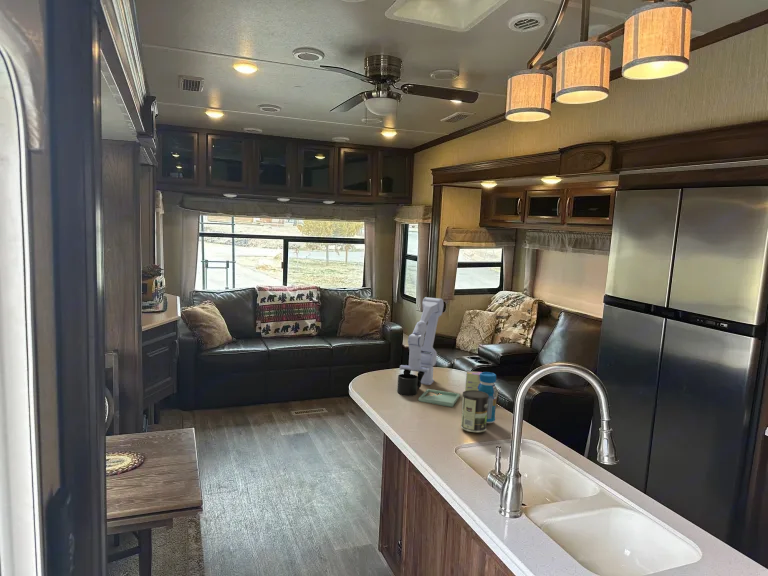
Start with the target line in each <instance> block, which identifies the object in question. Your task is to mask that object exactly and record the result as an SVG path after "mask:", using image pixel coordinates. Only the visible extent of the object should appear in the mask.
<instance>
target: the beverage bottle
mask: <svg viewBox="0 0 768 576" xmlns="http://www.w3.org/2000/svg"><path fill="white" fill-rule="evenodd" d="M481 372H482V371H481ZM480 382H481V383H480V384H479V385H478V388H477V390H478V391H482V392H485V393H487V394H488V395H489V397H488V408H487V423H486V424H492V423H494V422H495V420H496V407H497V398H498V395H497V392H498V389H497V385H496V384H495V383H497V374H496V373H494V372H490V371H483V372H482V373H480Z"/></svg>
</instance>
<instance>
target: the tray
mask: <svg viewBox="0 0 768 576" xmlns="http://www.w3.org/2000/svg"><path fill="white" fill-rule="evenodd" d="M433 392H434V394H438V393H440V394H442V395H438V396H437V395H436V396H435V395H433V394H432V395H433V396H430V395H431V394H430V395H427V394H428V393H433ZM460 396H461V394H460V393H457V392H451V391H450V392H449V391H443V390H436V389H430V388H427V389H426V390H425V391H424V392H423V393H422V394H420V396H419V397H418V402H422V403H428V404H431V403H432V404H433V405H436V404H437V405H438V406H443V407H448V408H454V406H455V404H456V403H457V402H458V400H459V399H460ZM432 404H431V405H432ZM437 405H436V406H437Z"/></svg>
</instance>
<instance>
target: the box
mask: <svg viewBox="0 0 768 576" xmlns="http://www.w3.org/2000/svg"><path fill="white" fill-rule="evenodd" d="M480 373H482V371H470V370H467V371H466V376H465V390H464V391H468V390H476V391H478V390H477V388H478V385H479V384H480V383H481V382H480Z"/></svg>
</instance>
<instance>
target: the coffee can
mask: <svg viewBox="0 0 768 576" xmlns="http://www.w3.org/2000/svg"><path fill="white" fill-rule="evenodd" d="M488 397H489V395H488V394H487V393H485V392H482V391H476V390H468V391H465V390H464V391H462V403H461V404H462V405H461V420H460V421H461V422H460V427H461V429H462V430H464V431H466V432H471V433H484V432H486V431H487V424H488V423H487V408H488Z"/></svg>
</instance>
